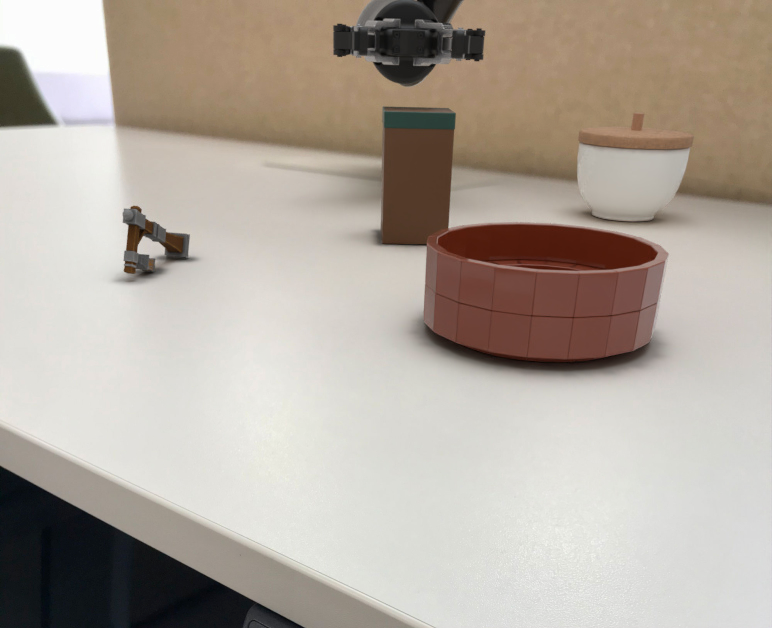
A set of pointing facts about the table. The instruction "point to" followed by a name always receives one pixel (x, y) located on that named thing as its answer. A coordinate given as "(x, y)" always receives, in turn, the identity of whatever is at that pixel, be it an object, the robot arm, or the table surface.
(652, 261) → the bowl
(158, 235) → the wooden post with brackets
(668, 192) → the trinket box
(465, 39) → the robot arm
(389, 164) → the tea box
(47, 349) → the table surface
